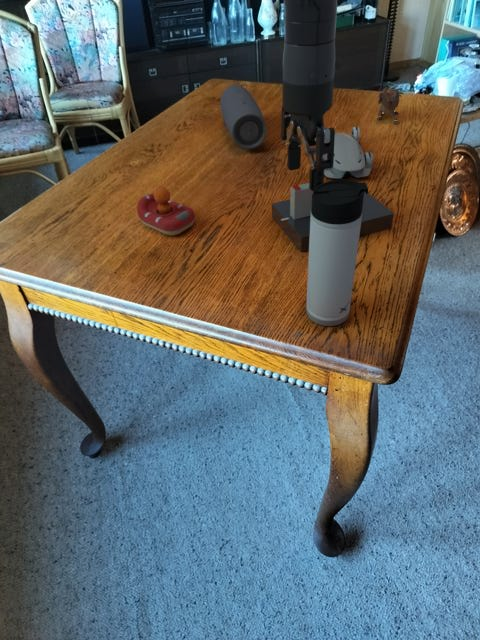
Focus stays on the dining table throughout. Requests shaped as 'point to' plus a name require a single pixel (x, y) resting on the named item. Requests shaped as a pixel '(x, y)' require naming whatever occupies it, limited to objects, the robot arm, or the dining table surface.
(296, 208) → the grey rectangular block
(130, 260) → the dining table surface
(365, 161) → the grey lumpy piece
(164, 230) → the toy boat
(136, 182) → the dining table surface
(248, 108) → the bluetooth speaker
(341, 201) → the travel mug
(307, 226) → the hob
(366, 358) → the dining table surface
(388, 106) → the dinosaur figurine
